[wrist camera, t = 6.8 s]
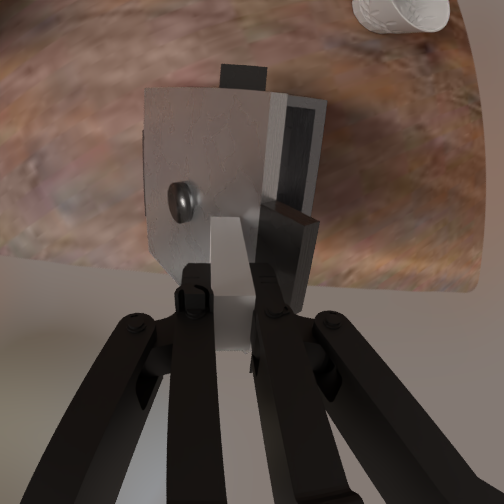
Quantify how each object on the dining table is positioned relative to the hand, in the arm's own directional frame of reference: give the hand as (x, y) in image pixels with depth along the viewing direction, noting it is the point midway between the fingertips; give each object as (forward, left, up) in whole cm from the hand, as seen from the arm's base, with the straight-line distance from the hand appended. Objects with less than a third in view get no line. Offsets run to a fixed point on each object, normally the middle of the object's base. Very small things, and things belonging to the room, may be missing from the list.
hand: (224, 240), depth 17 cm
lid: (0, -1, -5) cm, 5 cm away
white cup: (-21, +18, -22) cm, 35 cm away
